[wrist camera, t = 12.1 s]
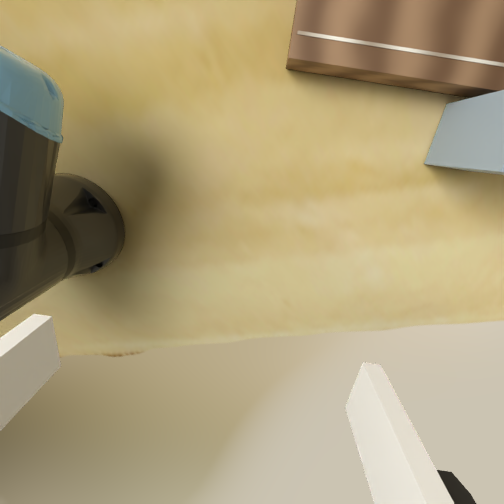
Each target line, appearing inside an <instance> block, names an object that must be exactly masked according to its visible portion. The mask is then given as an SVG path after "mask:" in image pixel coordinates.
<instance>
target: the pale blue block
mask: <svg viewBox="0 0 504 504" xmlns="http://www.w3.org/2000/svg"><path fill="white" fill-rule="evenodd" d="M424 164H427V165H434V166H440V167H446V168H453V169H459V170H466V171H473V172H482V173H491V174H500V175H504V90H501V91H497V92H493V93H489V94H485V95H481V96H477V97H473V98H469V99H464V100H460V101H456V102H452V103H448V104H446V107H445V110H444V112H443V115H442V118H441V120H440V123H439V126H438V128H437V131H436V134H435V136H434V139H433V142H432V144H431V147H430V150H429V152H428V155H427V158H426V160H425V163H424Z"/></svg>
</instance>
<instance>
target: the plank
mask: <svg viewBox="0 0 504 504" xmlns="http://www.w3.org/2000/svg"><path fill="white" fill-rule="evenodd" d="M286 69H292V70H299V71H305V72H311V73H318V74H324V75H330V76H337V77H343V78H349V79H356V80H362V81H369V82H375V83H381V84H388V85H394V86H400V87H407V88H413V89H419V90H426V91H432V92H439V93H445V94H451V95H458V96H464V97H470V98H473V97H477V96H481V95H485V94H489V93H493V92H497V91H501V90H504V0H297V3H296V9H295V15H294V22H293V28H292V34H291V40H290V46H289V52H288V58H287V65H286Z"/></svg>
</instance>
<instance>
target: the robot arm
mask: <svg viewBox="0 0 504 504" xmlns="http://www.w3.org/2000/svg"><path fill="white" fill-rule="evenodd" d="M63 107H64V99H63V95H62V92H61V90H60V88H59V86H58V85H57V83H56V82H55V81H54V80H53V79H52V78H51V77H50V76H49V75H48V74H47V73H45V72H44V71H42V70H41V69H39V68H38V67H36V66H35V65H33V64H31V63H30V62H28V61H26V60H25V59H23V58H21V57H20V56H18V55H16V54H14V53H13V52H11V51H9V50H7V49H6V48H4V47H2V46H0V321H1V320H2V319H4V318H5V317H7V316H9V315H10V314H12V313H13V312H15V311H16V310H18V309H19V308H21V307H22V306H24V305H25V304H27V303H28V302H30V301H32V300H33V299H35V298H36V297H38V296H39V295H41V294H42V293H44V292H45V291H47V290H48V289H50V288H51V287H53V286H54V285H56V284H57V283H59V282H60V281H62V280H64V279H67V278H72V277H77V276H81V275H86V274H90V273H94V272H96V271H98V270H100V269H102V268H104V267H105V266H107V265H108V264H109V263H111V262H112V261H113V260H114V259H115V258H116V257H117V256H118V255H119V253H120V251H121V249H122V247H123V243H124V237H125V231H124V224H123V220H122V217H121V215H120V212H119V210H118V208H117V207H116V205H115V203H114V202H113V201H112V199H111V198H110V197H109V196H108V195H107V194H106V193H105V192H104V191H103V190H102V189H101V188H100V187H98V186H97V185H96V184H94V183H92V182H91V181H89V180H87V179H85V178H82V177H80V176H76V175H72V174H55V168H56V162H57V157H58V151H59V146H60V143H62V141H63V136H62V135H61V129H62V117H63ZM60 367H61V363H60V357H59V352H58V346H57V341H56V335H55V330H54V324H53V319H52V316H46V315H39V314H33V315H31V316H30V317H29V318H27V319H26V320H24V321H23V322H22V323H20V324H19V325H17V326H16V327H15V328H13V329H12V330H10V331H9V332H8V333H6V334H5V335H3V336H2V337H1V338H0V431H1V430H2V429H3V427H5V425H6V424H7V423H8V422H9V421H10V420H11V419H12V418H13V417H14V416H15V415H16V414H17V413H18V412H19V411H20V409H21V408H22V407H23V406H24V405H25V404H26V403H27V402H28V401H29V400H30V399H31V398H32V397H33V396H34V395H35V393H36V392H37V391H38V390H39V389H40V388H41V387H42V386H43V385H44V384H45V383H46V382H47V380H49V379H50V377H51V376H52V375H53V374H54V373H55V372H56V371H57V370H58V369H59V368H60ZM345 409H346V413H347V416H348V419H349V423H350V426H351V429H352V432H353V436H354V439H355V442H356V446H357V449H358V452H359V455H360V459H361V462H362V465H363V468H364V472H365V475H366V479H367V482H368V485H369V488H370V492H371V495H372V498H373V502H374V504H476V503H475V501H474V499H473V497H472V496H471V494H470V493H469V492H468V490H467V489H465V487H464V486H463V485H462V484H461V482H460V481H459V480H458V479H457V478H456V477H455V476H454V474H453V473H452V472H447V471H440V470H436V468H435V466H434V464H433V463H432V460H431V458H430V457H429V455H428V453H427V451H426V449H425V447H424V445H423V443H422V441H421V440H420V438H419V436H418V434H417V432H416V430H415V428H414V426H413V425H412V423H411V421H410V419H409V417H408V416H407V413H406V411H405V409H404V408H403V406H402V404H401V402H400V400H399V398H398V397H397V394H396V392H395V391H394V389H393V387H392V385H391V383H390V381H389V379H388V377H387V375H386V373H385V372H384V370H383V368H382V366H381V365H380V364H373V363H366V362H363V363H362V365H361V368H360V370H359V374H358V376H357V378H356V381H355V383H354V386H353V388H352V391H351V393H350V396H349V398H348V401H347V403H346V406H345Z"/></svg>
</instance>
